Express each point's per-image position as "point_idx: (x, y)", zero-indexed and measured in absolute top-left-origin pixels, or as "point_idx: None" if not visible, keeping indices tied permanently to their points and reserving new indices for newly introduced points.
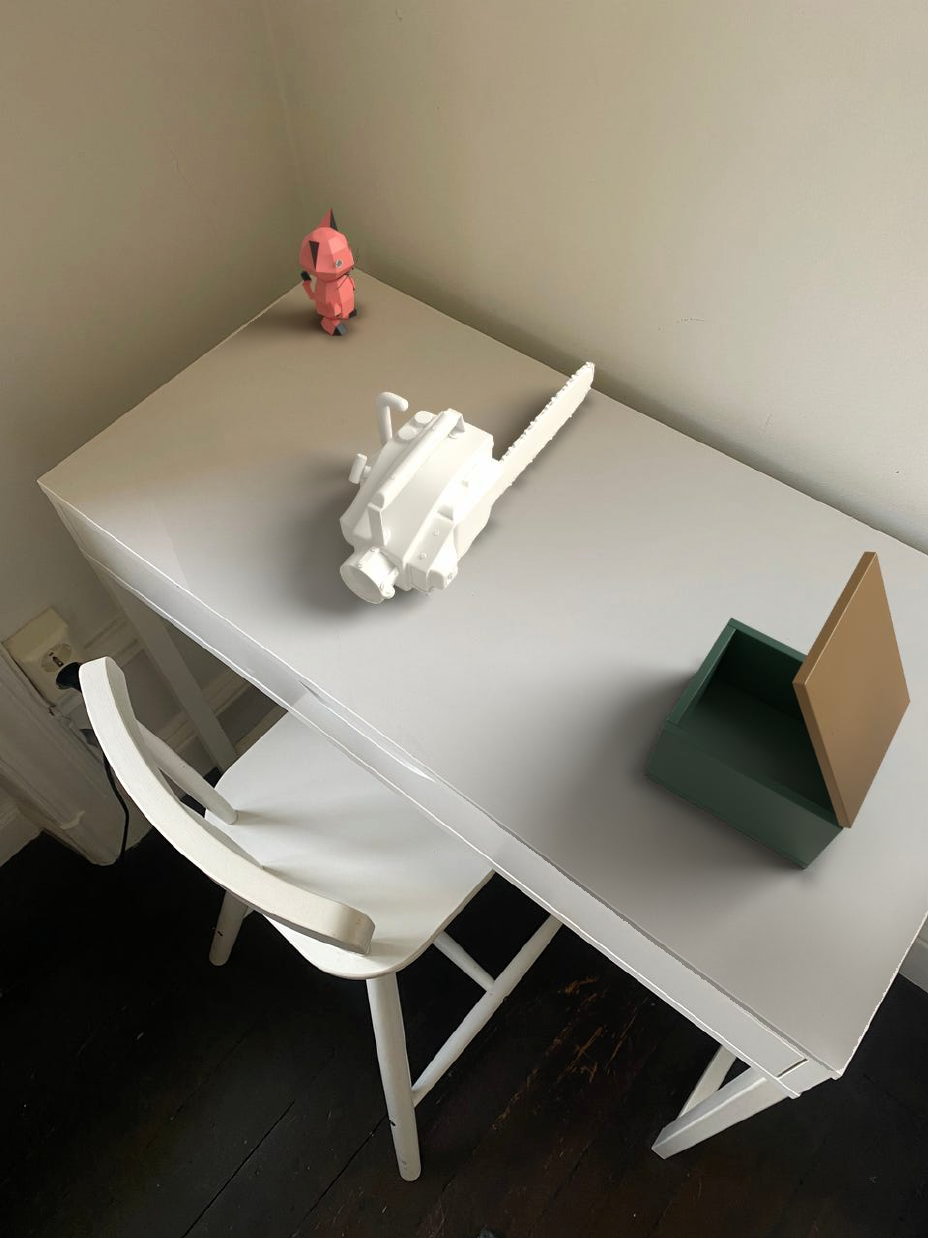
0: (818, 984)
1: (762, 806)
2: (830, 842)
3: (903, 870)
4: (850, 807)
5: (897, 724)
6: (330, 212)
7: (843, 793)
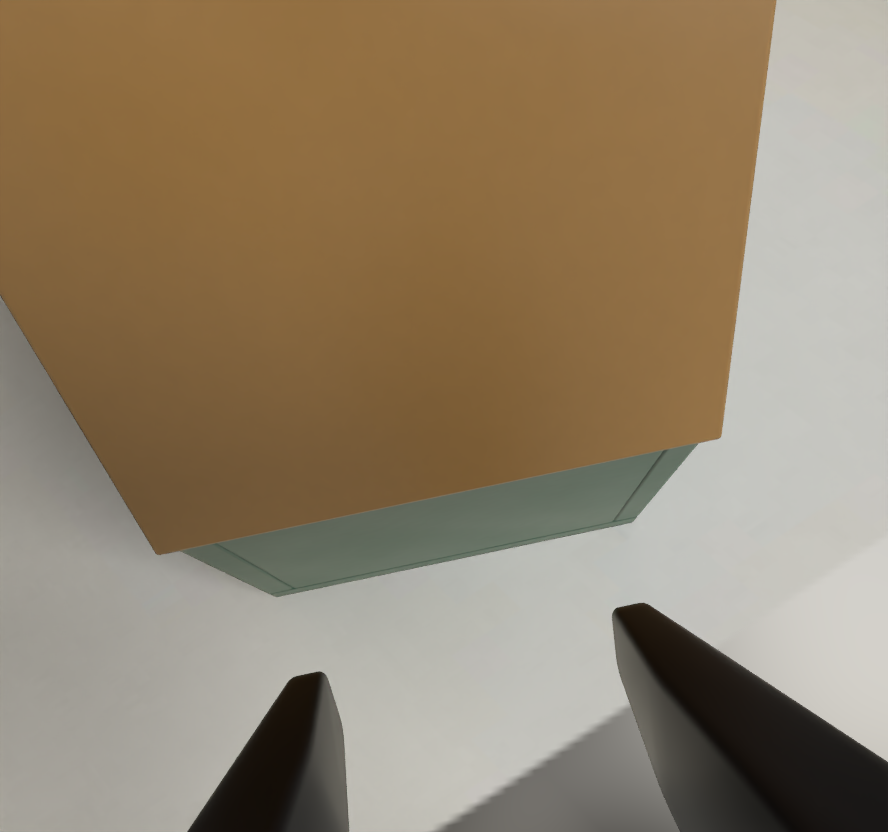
0: (52, 782)
1: None
2: (211, 565)
3: (438, 780)
4: (161, 496)
5: (599, 451)
6: None
7: (102, 421)
